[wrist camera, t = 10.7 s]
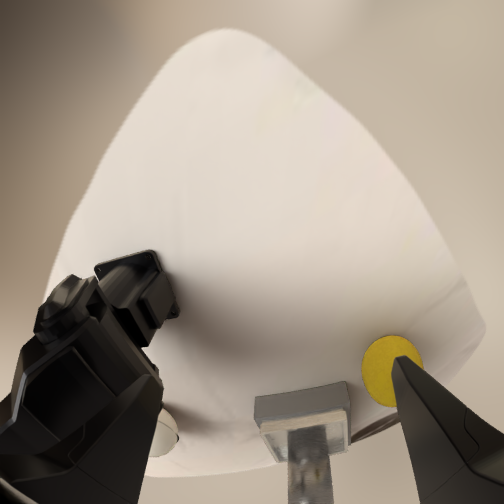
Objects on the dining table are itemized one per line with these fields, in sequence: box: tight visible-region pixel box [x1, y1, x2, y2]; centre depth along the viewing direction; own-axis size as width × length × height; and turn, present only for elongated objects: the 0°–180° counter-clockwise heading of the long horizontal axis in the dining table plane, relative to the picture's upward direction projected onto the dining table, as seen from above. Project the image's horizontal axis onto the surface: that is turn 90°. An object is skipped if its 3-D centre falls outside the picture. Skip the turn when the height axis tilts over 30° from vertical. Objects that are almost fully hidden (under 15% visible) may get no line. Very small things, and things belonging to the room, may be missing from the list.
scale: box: [254, 381, 351, 463], centre depth 28 cm, size 10×11×5 cm
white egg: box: [149, 408, 179, 457], centre depth 27 cm, size 10×7×7 cm
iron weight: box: [287, 427, 334, 504], centre depth 20 cm, size 4×4×14 cm
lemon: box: [361, 335, 424, 407], centre depth 21 cm, size 6×6×8 cm
